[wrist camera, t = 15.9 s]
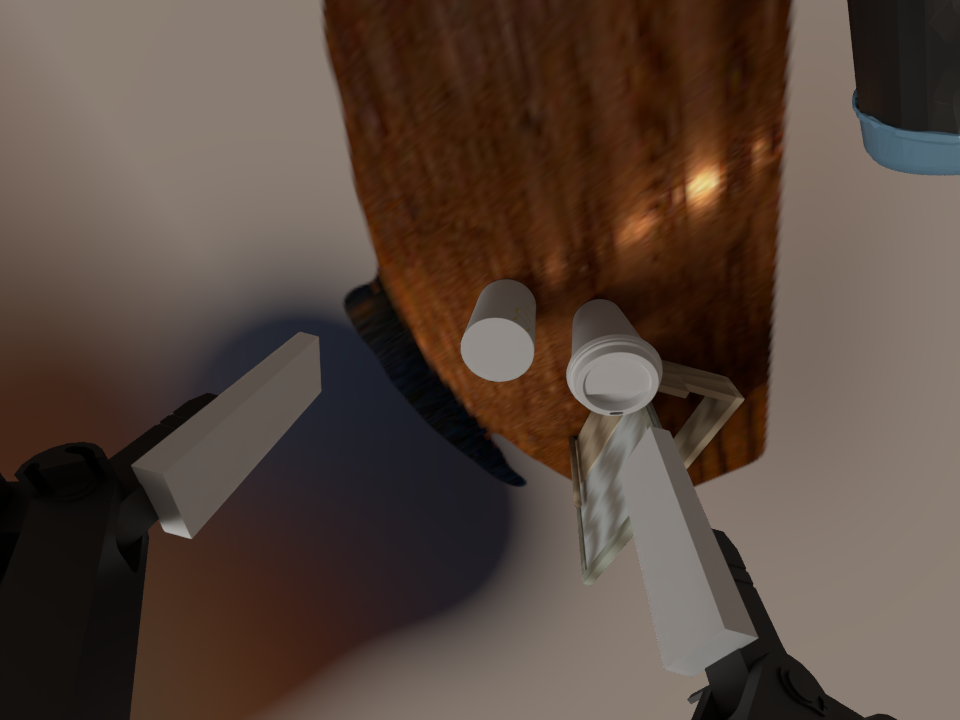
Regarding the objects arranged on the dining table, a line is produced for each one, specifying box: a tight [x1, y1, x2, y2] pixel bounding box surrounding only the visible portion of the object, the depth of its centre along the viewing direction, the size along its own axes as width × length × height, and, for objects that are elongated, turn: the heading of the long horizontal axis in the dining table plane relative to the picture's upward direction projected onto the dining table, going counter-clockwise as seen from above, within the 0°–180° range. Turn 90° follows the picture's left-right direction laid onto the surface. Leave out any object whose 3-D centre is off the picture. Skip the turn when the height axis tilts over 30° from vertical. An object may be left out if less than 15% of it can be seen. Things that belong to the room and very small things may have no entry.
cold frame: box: [569, 359, 745, 586], centre depth 46 cm, size 21×16×22 cm
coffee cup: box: [567, 299, 662, 416], centre depth 42 cm, size 10×10×15 cm
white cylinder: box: [461, 279, 536, 381], centre depth 44 cm, size 8×8×12 cm
